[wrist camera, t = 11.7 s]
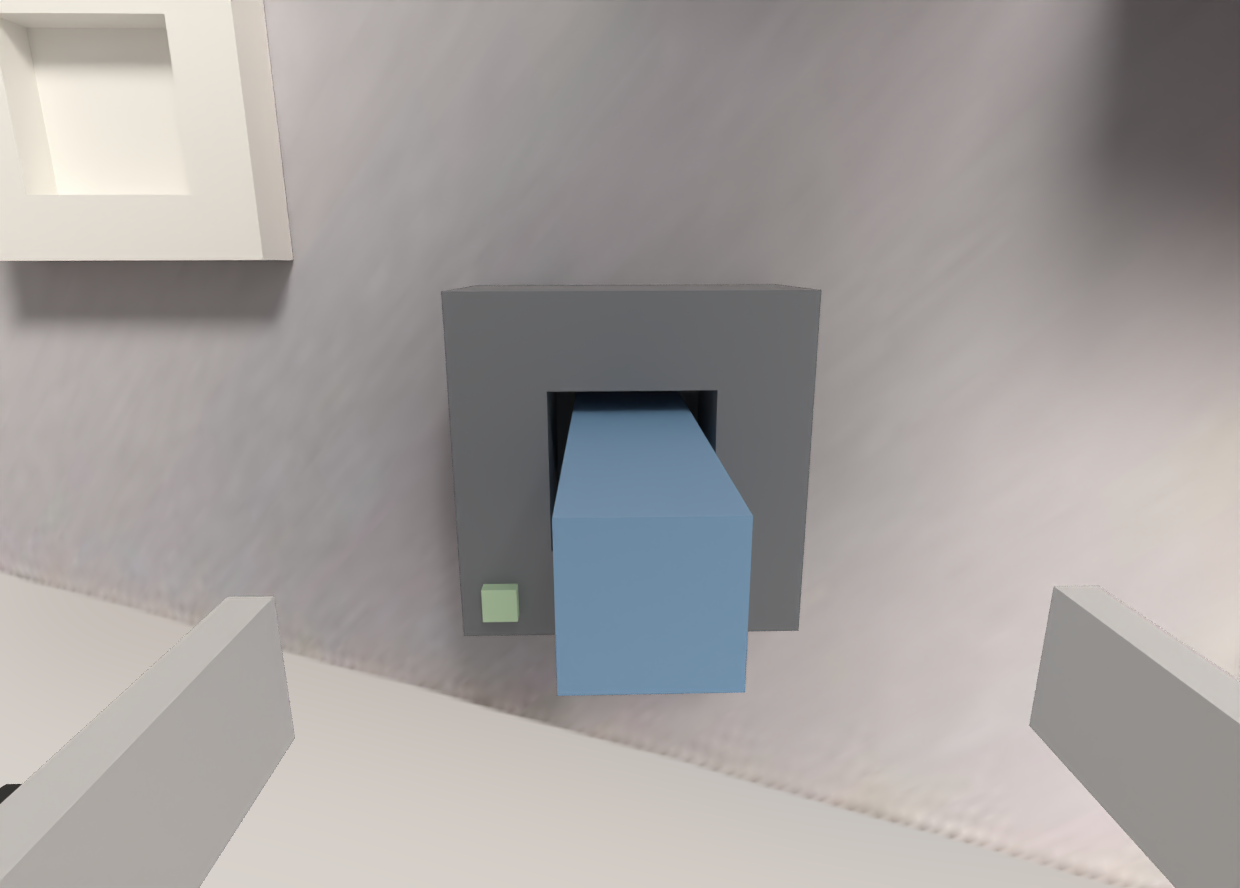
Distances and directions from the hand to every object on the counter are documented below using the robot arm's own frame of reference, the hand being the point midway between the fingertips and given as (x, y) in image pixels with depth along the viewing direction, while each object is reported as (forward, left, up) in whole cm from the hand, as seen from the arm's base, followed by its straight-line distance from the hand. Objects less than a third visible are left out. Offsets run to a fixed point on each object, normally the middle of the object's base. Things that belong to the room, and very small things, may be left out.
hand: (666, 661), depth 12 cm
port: (0, 0, -18) cm, 18 cm away
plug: (0, 0, -17) cm, 17 cm away
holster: (-12, -18, -18) cm, 28 cm away
